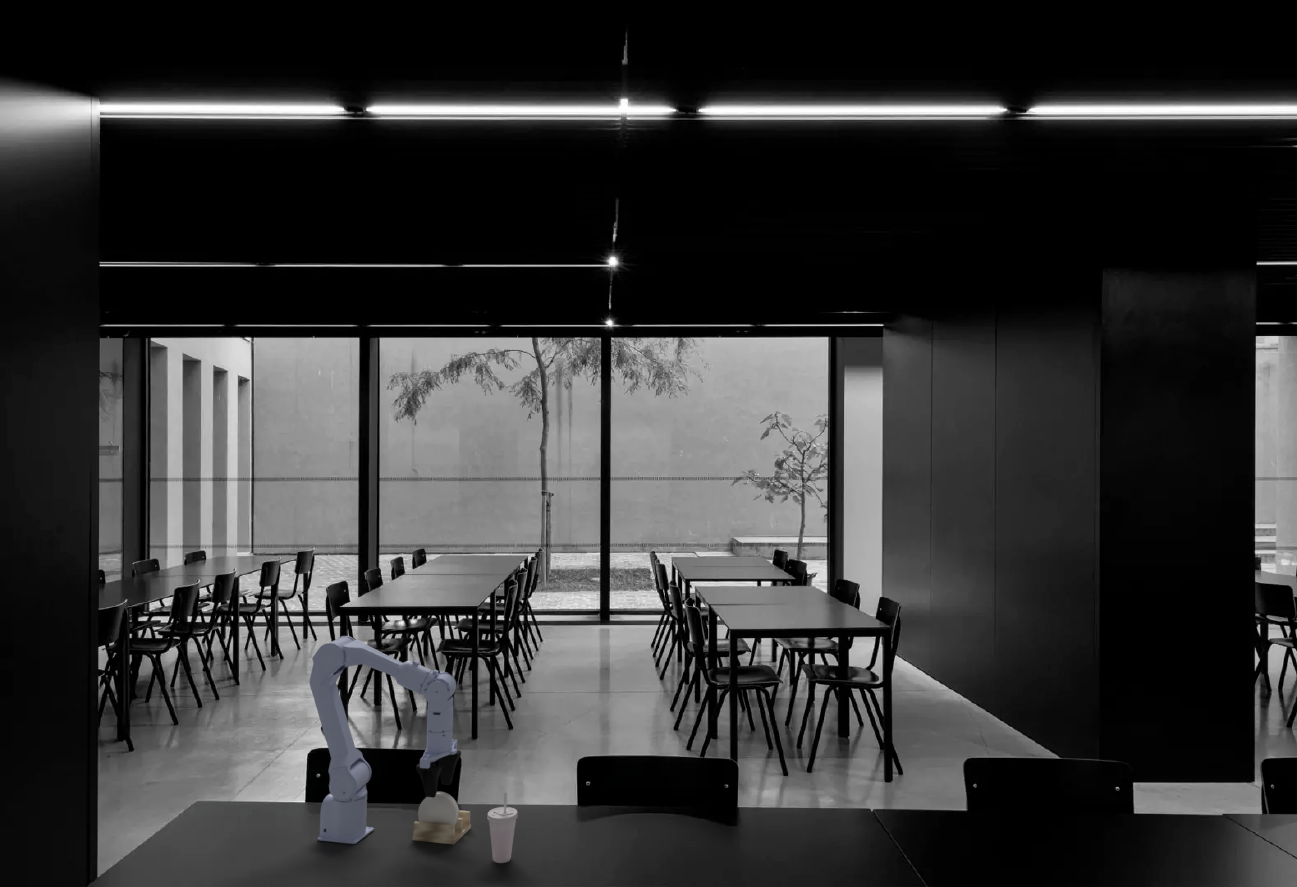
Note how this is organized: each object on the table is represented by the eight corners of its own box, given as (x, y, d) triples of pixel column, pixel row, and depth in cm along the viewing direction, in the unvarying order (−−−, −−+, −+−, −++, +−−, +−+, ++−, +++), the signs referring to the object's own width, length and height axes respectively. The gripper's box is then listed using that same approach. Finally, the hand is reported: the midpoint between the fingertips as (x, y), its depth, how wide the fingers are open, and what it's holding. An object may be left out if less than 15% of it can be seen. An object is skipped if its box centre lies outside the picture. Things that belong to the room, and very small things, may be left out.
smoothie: (510, 867, 168) (511, 798, 169) (481, 864, 170) (482, 796, 170) (521, 853, 175) (522, 787, 175) (493, 851, 176) (494, 785, 177)
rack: (412, 840, 181) (412, 822, 181) (431, 824, 190) (431, 807, 190) (453, 844, 179) (454, 827, 179) (470, 828, 188) (471, 811, 188)
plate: (417, 834, 182) (418, 793, 183) (421, 830, 184) (422, 790, 185) (454, 838, 180) (455, 796, 181) (458, 834, 182) (459, 793, 183)
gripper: (441, 740, 176) (440, 804, 175) (469, 721, 190) (468, 780, 189) (411, 737, 177) (410, 801, 177) (442, 719, 191) (440, 778, 191)
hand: (438, 790), depth 183 cm, fingers open, 7 cm apart
